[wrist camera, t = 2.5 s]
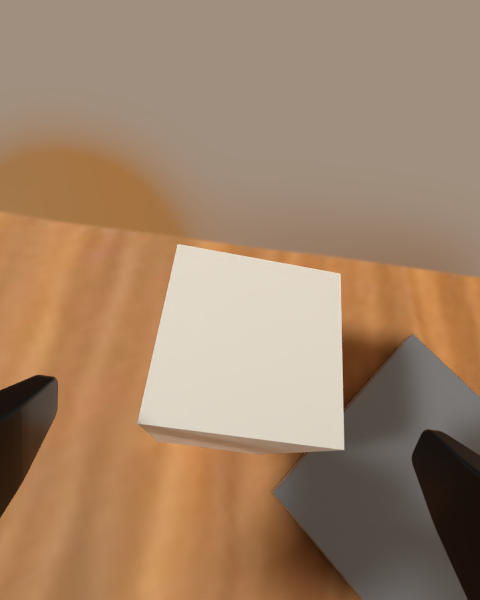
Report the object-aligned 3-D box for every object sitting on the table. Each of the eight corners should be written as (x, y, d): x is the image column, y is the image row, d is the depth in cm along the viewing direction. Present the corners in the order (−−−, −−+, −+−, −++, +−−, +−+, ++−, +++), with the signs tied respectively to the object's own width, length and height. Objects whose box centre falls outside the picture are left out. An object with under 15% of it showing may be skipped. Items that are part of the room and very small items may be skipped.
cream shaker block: (260, 454, 17) (344, 450, 8) (158, 441, 16) (137, 423, 8) (267, 356, 19) (340, 273, 11) (177, 342, 19) (177, 243, 10)
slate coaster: (578, 501, 18) (590, 502, 18) (477, 739, 14) (489, 751, 13) (406, 336, 21) (412, 333, 20) (270, 491, 16) (274, 492, 16)
